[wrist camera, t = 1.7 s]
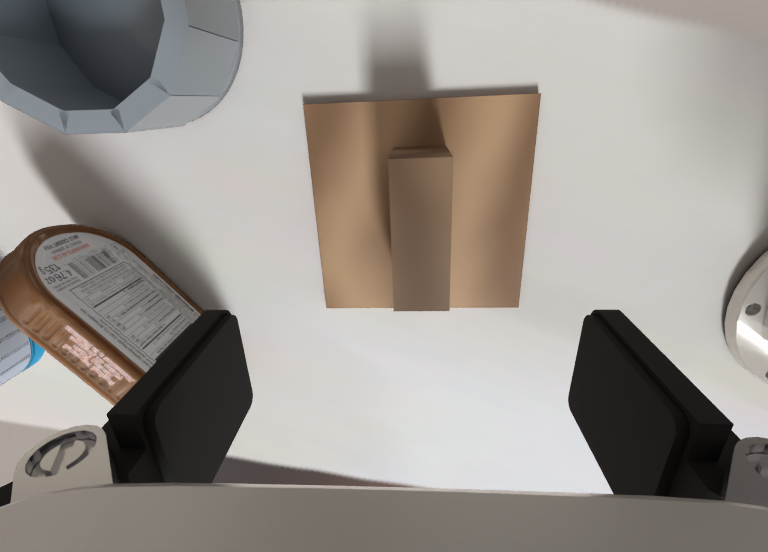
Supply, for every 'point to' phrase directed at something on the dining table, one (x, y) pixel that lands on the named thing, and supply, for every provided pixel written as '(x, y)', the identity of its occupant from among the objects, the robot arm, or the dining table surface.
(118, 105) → the bowl
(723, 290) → the dining table surface
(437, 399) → the dining table surface
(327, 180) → the lid
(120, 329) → the tin
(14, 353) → the beverage bottle
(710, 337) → the dining table surface
